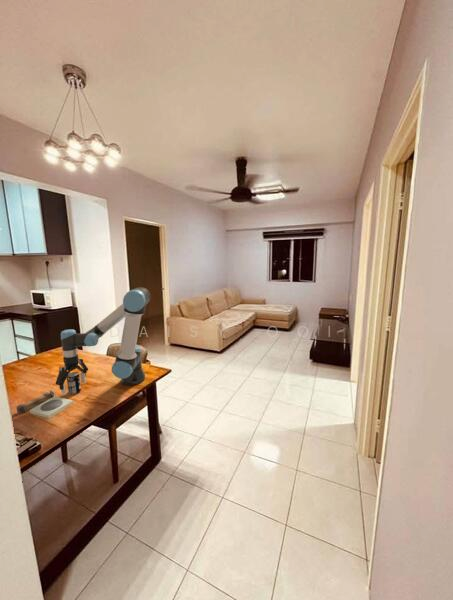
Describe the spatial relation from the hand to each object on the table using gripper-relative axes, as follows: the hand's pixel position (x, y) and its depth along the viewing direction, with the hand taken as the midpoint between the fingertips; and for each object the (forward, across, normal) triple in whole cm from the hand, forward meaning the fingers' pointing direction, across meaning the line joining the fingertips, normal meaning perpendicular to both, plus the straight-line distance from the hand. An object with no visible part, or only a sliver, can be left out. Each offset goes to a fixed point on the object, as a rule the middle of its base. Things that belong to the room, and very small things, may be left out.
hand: (74, 388), depth 152 cm
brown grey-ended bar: (+3, +18, -9) cm, 20 cm away
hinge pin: (+3, +9, -7) cm, 12 cm away
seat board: (+3, +16, +2) cm, 16 cm away
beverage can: (+3, 0, 0) cm, 3 cm away
